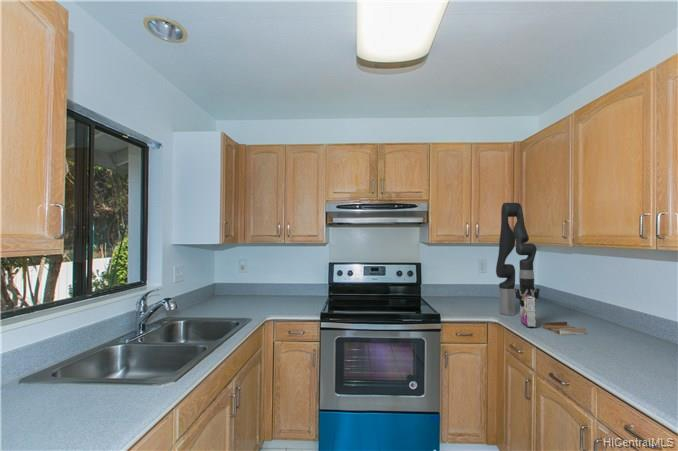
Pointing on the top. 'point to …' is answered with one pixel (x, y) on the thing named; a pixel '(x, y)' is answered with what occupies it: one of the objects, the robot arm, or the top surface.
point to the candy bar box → (528, 312)
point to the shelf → (563, 328)
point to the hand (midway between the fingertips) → (527, 306)
